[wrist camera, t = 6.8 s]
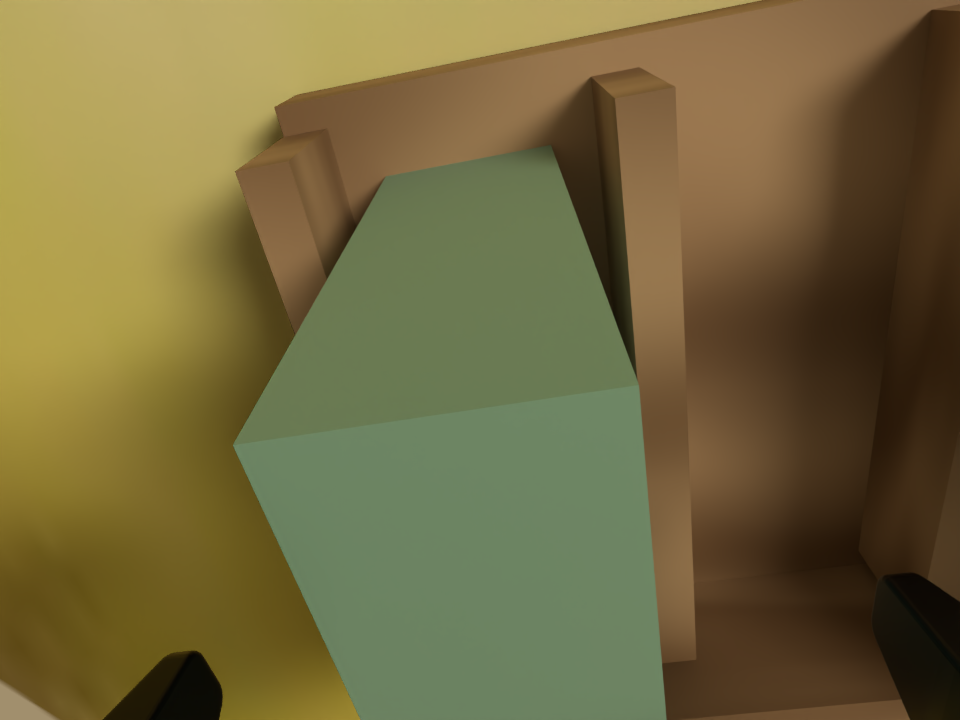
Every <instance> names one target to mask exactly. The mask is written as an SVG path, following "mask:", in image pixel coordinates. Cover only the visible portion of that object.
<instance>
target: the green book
mask: <svg viewBox="0 0 960 720" xmlns="http://www.w3.org/2000/svg"><path fill="white" fill-rule="evenodd" d="M233 447H234V449H235V451H236V453H237V456H238V458H239V460H240V462H241V464H242V466H243V468H244V471H245V473H246V475H247V477H248V479H249V481H250V483H251V486H252V488H253V490H254V492H255V494H256V496H257V498H258V501H259V503H260V505H261V507H262V509H263V511H264V513H265V516H266V518H267V520H268V522H269V524H270V526H271V528H272V531H273V533H274V535H275V537H276V539H277V541H278V543H279V546H280V548H281V550H282V552H283V554H284V556H285V558H286V561H287V563H288V565H289V567H290V569H291V571H292V574H293V576H294V578H295V580H296V582H297V584H298V586H299V589H300V591H301V593H302V595H303V597H304V599H305V601H306V604H307V606H308V608H309V610H310V612H311V614H312V616H313V619H314V621H315V623H316V625H317V627H318V629H319V631H320V634H321V636H322V638H323V640H324V642H325V644H326V646H327V649H328V651H329V653H330V655H331V657H332V659H333V661H334V664H335V666H336V668H337V670H338V672H339V674H340V676H341V679H342V681H343V683H344V685H345V687H346V689H347V691H348V694H349V696H350V698H351V700H352V702H353V704H354V706H355V709H356V711H357V713H358V715H359V717H360V719H361V720H667V719H666V707H665V695H664V683H663V670H662V658H661V646H660V634H659V622H658V610H657V598H656V586H655V574H654V561H653V549H652V537H651V525H650V513H649V501H648V489H647V477H646V465H645V452H644V440H643V428H642V416H641V404H640V392H639V384H638V381H637V378H636V376H635V373H634V370H633V367H632V365H631V362H630V359H629V357H628V354H627V351H626V348H625V346H624V343H623V340H622V338H621V335H620V332H619V329H618V327H617V324H616V321H615V318H614V316H613V313H612V310H611V308H610V305H609V302H608V299H607V297H606V294H605V291H604V288H603V286H602V283H601V280H600V278H599V275H598V272H597V269H596V267H595V264H594V261H593V258H592V256H591V253H590V250H589V248H588V245H587V242H586V239H585V237H584V234H583V231H582V229H581V226H580V223H579V220H578V218H577V215H576V212H575V209H574V207H573V204H572V201H571V199H570V196H569V193H568V190H567V188H566V185H565V182H564V179H563V177H562V174H561V171H560V169H559V166H558V163H557V160H556V158H555V155H554V152H553V150H552V147H551V145H548V146H542V147H537V148H532V149H527V150H521V151H516V152H511V153H506V154H500V155H495V156H490V157H485V158H479V159H474V160H469V161H463V162H458V163H453V164H448V165H442V166H437V167H432V168H427V169H421V170H416V171H411V172H406V173H400V174H395V175H390V176H386V177H385V179H384V180H383V182H382V184H381V186H380V187H379V189H378V191H377V193H376V195H375V196H374V198H373V200H372V202H371V203H370V205H369V207H368V209H367V210H366V212H365V214H364V216H363V217H362V219H361V221H360V223H359V224H358V226H357V228H356V230H355V231H354V233H353V235H352V237H351V238H350V240H349V242H348V244H347V245H346V247H345V249H344V251H343V252H342V254H341V256H340V258H339V259H338V261H337V263H336V265H335V266H334V268H333V270H332V272H331V274H330V275H329V277H328V279H327V281H326V282H325V284H324V286H323V288H322V289H321V291H320V293H319V295H318V296H317V298H316V300H315V302H314V303H313V305H312V307H311V309H310V310H309V312H308V314H307V316H306V317H305V319H304V321H303V323H302V324H301V326H300V328H299V330H298V331H297V333H296V335H295V337H294V338H293V340H292V342H291V344H290V346H289V347H288V349H287V351H286V353H285V354H284V356H283V358H282V360H281V361H280V363H279V365H278V367H277V368H276V370H275V372H274V374H273V375H272V377H271V379H270V381H269V382H268V384H267V386H266V388H265V389H264V391H263V393H262V395H261V396H260V398H259V400H258V402H257V403H256V405H255V407H254V409H253V410H252V412H251V414H250V416H249V418H248V419H247V421H246V423H245V425H244V426H243V428H242V430H241V432H240V433H239V435H238V437H237V439H236V440H235V442H234V444H233Z"/></svg>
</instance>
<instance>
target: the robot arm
mask: <svg viewBox="0 0 960 720" xmlns="http://www.w3.org/2000/svg"><path fill="white" fill-rule="evenodd" d="M871 624H872V630H873V633H874V636H875V639H876V641H877V644H878V646H879V648H880V651H881V653H882V656H883V658H884V660H885V663H886V665H887V667H888V670H889V672H890V674H891V677H892V679H893V681H894V684H895V686H896V688H897V691H898V693H899V696H900V698H901V700H902V703H903V705H904V707H905V710H906V712H907V714H908V717H909V719H910V720H960V601H958V600H957V599H955V598H954V597H952V596H951V595H949V594H948V593H946V592H945V591H943V590H942V589H941V588H939V587H938V586H936V585H935V584H933V583H932V582H930V581H929V580H927V579H926V578H924V577H923V576H921V575H919V574H916V573H913V572H905V573H896V574H887V575H883V576H881V577H880V578H879V579H878V581H877V585H876V591H875V597H874V603H873V609H872V615H871ZM222 698H223V695H222V689H221V685H220V683H219V681H218V680H217V678H216V676H215V675H214V673H213V671H212V670H211V668H210V667H209V665H208V663H207V662H206V660H205V658H204V657H203V655H202V654H201V653H199V652H197V651H185V652H176V653H171V654H169V655H167V656H166V657H164V658H163V659H162V660H161V661H160V662H159V663H158V664H157V665H156V666H155V667H154V668H153V669H152V670H151V671H150V672H149V673H148V674H147V675H146V676H145V677H144V678H143V679H142V680H141V681H140V682H139V683H138V684H137V685H136V686H135V687H134V688H133V689H132V690H131V691H130V692H129V693H128V694H127V695H126V696H125V697H124V698H123V699H122V700H121V702H120V703H119V704H118V705H117V706H116V707H115V708H114V709H113V710H112V711H111V712H110V713H109V714H108V715H107V716H106V717H105V718H104V719H103V720H219V718H220V712H221V707H222Z"/></svg>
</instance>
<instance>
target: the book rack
mask: <svg viewBox="0 0 960 720" xmlns="http://www.w3.org/2000/svg"><path fill="white" fill-rule="evenodd" d="M274 108H275V111H276V114H277V117H278V120H279V123H280V126H281V129H282V133H283V136H284V137H283V138H282V139H280V140H279V141H277V142H276V143H275V144H273V145H272V146H270V147H269V148H267V149H266V150H265V151H263V152H262V153H260V154H259V155H258V156H256V157H255V158H253V159H252V160H251V161H249V162H248V163H246V164H245V165H244V166H242V167H241V168H239V169H238V170H237V171H235V172H236V175H237V178H238V181H239V183H240V186H241V189H242V192H243V194H244V197H245V200H246V202H247V205H248V208H249V211H250V213H251V216H252V219H253V222H254V224H255V227H256V230H257V233H258V235H259V238H260V241H261V243H262V246H263V249H264V252H265V254H266V257H267V260H268V263H269V265H270V268H271V271H272V273H273V276H274V279H275V282H276V284H277V287H278V290H279V293H280V295H281V298H282V301H283V304H284V306H285V309H286V312H287V314H288V317H289V320H290V323H291V325H292V328H293V331H294V334H295V335H296V333H297V331H298V330H299V328H300V326H301V324H302V323H303V321H304V319H305V317H306V316H307V314H308V312H309V310H310V309H311V307H312V305H313V303H314V302H315V300H316V298H317V296H318V295H319V293H320V291H321V289H322V288H323V286H324V284H325V282H326V281H327V279H328V277H329V275H330V274H331V272H332V270H333V268H334V266H335V265H336V263H337V261H338V259H339V258H340V256H341V254H342V252H343V251H344V249H345V247H346V245H347V244H348V242H349V240H350V238H351V237H352V235H353V233H354V231H355V230H356V228H357V226H358V224H359V223H360V221H361V219H362V217H363V216H364V214H365V212H366V210H367V209H368V207H369V205H370V203H371V202H372V200H373V198H374V196H375V195H376V193H377V191H378V189H379V187H380V186H381V184H382V182H383V180H384V179H385V177H386V176H390V175H395V174H400V173H406V172H411V171H416V170H421V169H427V168H432V167H437V166H442V165H448V164H453V163H458V162H463V161H469V160H474V159H479V158H485V157H490V156H495V155H500V154H506V153H511V152H516V151H521V150H527V149H532V148H537V147H542V146H548V145H551V147H552V150H553V152H554V155H555V158H556V160H557V163H558V166H559V169H560V171H561V174H562V177H563V179H564V182H565V185H566V188H567V190H568V193H569V196H570V199H571V201H572V204H573V207H574V209H575V212H576V215H577V218H578V220H579V223H580V226H581V229H582V231H583V234H584V237H585V239H586V242H587V245H588V248H589V250H590V253H591V256H592V258H593V261H594V264H595V267H596V269H597V272H598V275H599V278H600V280H601V283H602V286H603V288H604V291H605V294H606V297H607V299H608V302H609V305H610V308H611V310H612V313H613V316H614V318H615V321H616V324H617V327H618V329H619V332H620V335H621V338H622V340H623V343H624V346H625V348H626V351H627V354H628V357H629V359H630V362H631V365H632V367H633V370H634V373H635V376H636V378H637V381H638V384H639V392H640V404H641V416H642V428H643V440H644V452H645V465H646V477H647V489H648V501H649V513H650V525H651V537H652V549H653V561H654V574H655V586H656V598H657V610H658V622H659V634H660V646H661V658H662V670H663V683H664V695H665V707H666V719H667V720H910V719H909V717H908V714H907V712H906V710H905V707H904V705H903V703H902V700H901V698H900V696H899V693H898V691H897V688H896V686H895V684H894V681H893V679H892V677H891V674H890V672H889V670H888V667H887V665H886V663H885V660H884V658H883V656H882V653H881V651H880V648H879V646H878V644H877V641H876V639H875V636H874V633H873V630H872V624H871V615H872V609H873V603H874V597H875V591H876V585H877V581H878V579H879V578H880V577H881V576H883V575H887V574H896V573H905V572H913V573H916V574H919V575H921V576H923V577H924V578H926V579H927V580H929V581H930V582H932V583H933V584H935V585H936V586H938V587H939V588H941V589H942V590H943V591H945V592H946V593H948V594H949V595H951V596H952V597H954V598H955V599H957V600H958V601H960V0H762V1H757V2H752V3H747V4H742V5H737V6H732V7H727V8H722V9H717V10H712V11H707V12H703V13H698V14H693V15H688V16H683V17H678V18H673V19H668V20H663V21H658V22H653V23H648V24H643V25H639V26H634V27H629V28H624V29H619V30H614V31H609V32H604V33H599V34H594V35H589V36H584V37H579V38H575V39H570V40H565V41H560V42H555V43H550V44H545V45H540V46H535V47H530V48H525V49H520V50H515V51H511V52H506V53H501V54H496V55H491V56H486V57H481V58H476V59H471V60H466V61H461V62H456V63H451V64H447V65H442V66H437V67H432V68H427V69H422V70H417V71H412V72H407V73H402V74H397V75H392V76H387V77H383V78H378V79H373V80H368V81H363V82H358V83H353V84H348V85H343V86H338V87H333V88H328V89H323V90H318V91H314V92H309V93H304V94H299V95H296V96H294V97H292V98H290V99H289V100H287V101H285V102H283V103H281V104H279V105H278V106H276V107H274Z"/></svg>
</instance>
